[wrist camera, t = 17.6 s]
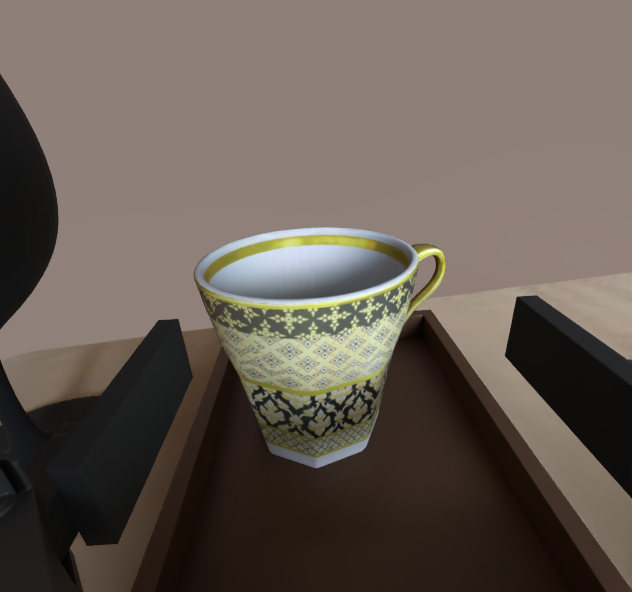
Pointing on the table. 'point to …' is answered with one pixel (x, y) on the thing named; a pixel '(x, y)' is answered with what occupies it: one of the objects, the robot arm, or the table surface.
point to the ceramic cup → (314, 329)
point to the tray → (373, 497)
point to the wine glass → (24, 264)
